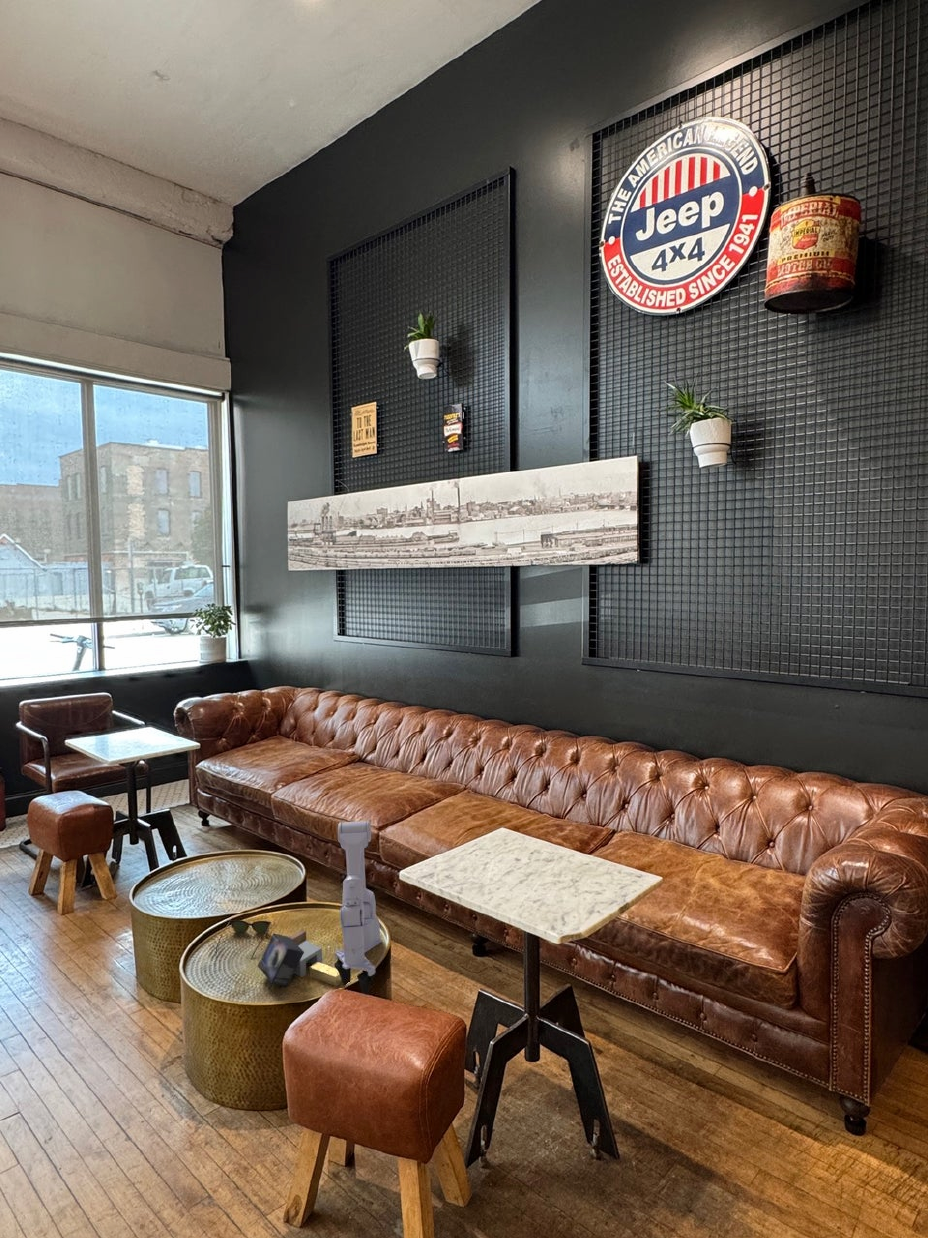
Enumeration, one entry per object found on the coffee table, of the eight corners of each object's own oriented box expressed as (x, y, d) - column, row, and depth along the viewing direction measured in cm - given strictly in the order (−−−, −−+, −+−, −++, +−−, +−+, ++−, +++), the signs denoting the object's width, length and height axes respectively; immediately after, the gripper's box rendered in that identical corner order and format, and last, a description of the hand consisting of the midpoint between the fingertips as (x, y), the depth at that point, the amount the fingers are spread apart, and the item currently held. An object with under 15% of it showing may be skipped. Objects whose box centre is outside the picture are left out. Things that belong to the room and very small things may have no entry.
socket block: (307, 955, 229) (306, 940, 229) (322, 963, 225) (321, 948, 224) (286, 969, 223) (285, 953, 222) (301, 977, 218) (300, 961, 218)
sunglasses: (272, 934, 243) (271, 921, 242) (255, 964, 228) (254, 950, 227) (230, 933, 244) (229, 919, 243) (211, 963, 230) (209, 949, 229)
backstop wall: (302, 946, 234) (301, 929, 233) (306, 949, 233) (305, 931, 232) (269, 967, 224) (268, 948, 223) (273, 969, 223) (272, 951, 222)
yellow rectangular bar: (317, 971, 222) (316, 961, 221) (343, 980, 217) (342, 970, 216) (310, 977, 219) (309, 967, 219) (336, 987, 214) (335, 976, 214)
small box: (255, 966, 218) (272, 931, 221) (272, 970, 222) (289, 936, 225) (270, 983, 210) (288, 947, 213) (288, 987, 214) (305, 952, 217)
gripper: (325, 943, 209) (328, 987, 211) (361, 961, 201) (363, 1006, 202) (344, 932, 215) (346, 974, 217) (379, 948, 206) (381, 993, 208)
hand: (356, 989), depth 210 cm, fingers open, 7 cm apart
